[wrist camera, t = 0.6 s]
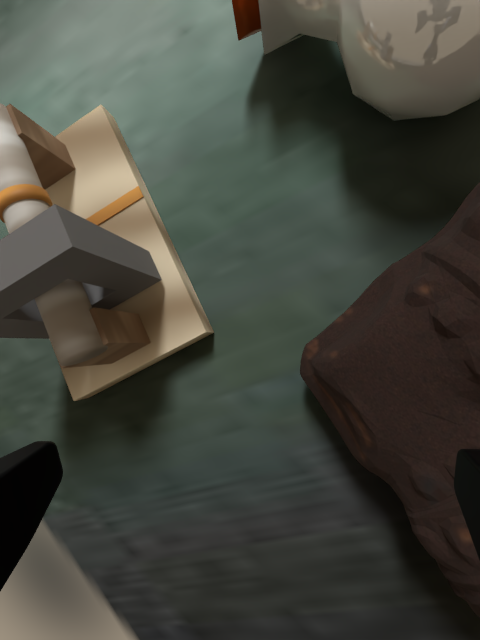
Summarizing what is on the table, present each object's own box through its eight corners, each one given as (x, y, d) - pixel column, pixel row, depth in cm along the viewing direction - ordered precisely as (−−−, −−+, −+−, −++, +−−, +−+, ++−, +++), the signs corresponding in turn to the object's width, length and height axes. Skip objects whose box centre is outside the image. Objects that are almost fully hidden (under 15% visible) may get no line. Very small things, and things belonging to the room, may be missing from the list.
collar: (162, 279, 22) (72, 246, 15) (58, 338, 24) (-73, 336, 16) (149, 251, 23) (55, 204, 15) (48, 311, 24) (-85, 296, 17)
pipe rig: (213, 332, 24) (162, 327, 16) (88, 398, 25) (-7, 419, 18) (113, 117, 26) (33, 34, 19) (7, 190, 28) (-103, 139, 21)
